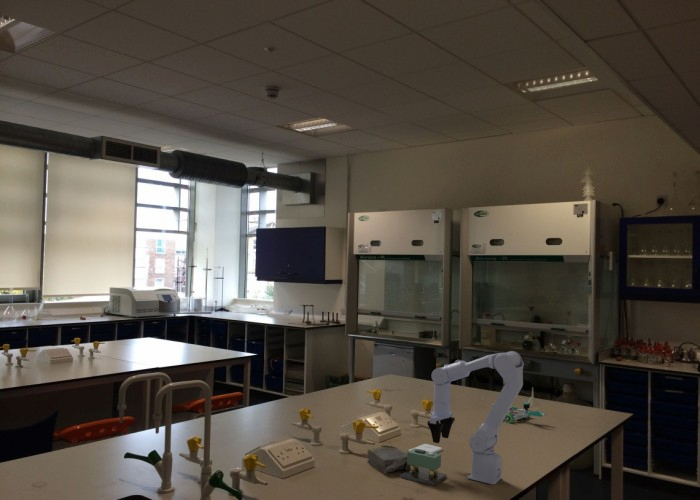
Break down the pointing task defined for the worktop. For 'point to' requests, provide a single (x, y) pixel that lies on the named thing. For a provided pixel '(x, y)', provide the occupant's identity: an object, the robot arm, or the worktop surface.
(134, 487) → the worktop surface
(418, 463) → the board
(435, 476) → the plate
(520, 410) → the robot kit
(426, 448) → the external hard drive
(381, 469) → the geological specimen
